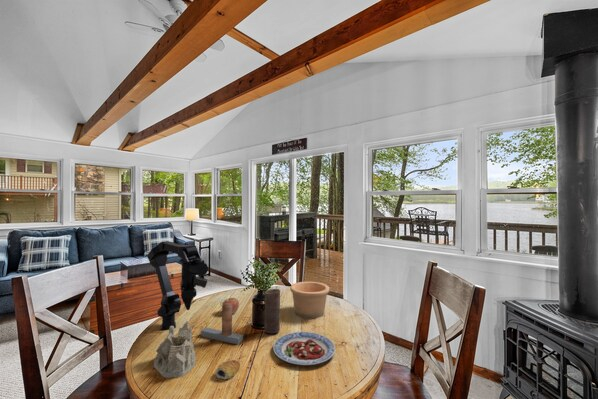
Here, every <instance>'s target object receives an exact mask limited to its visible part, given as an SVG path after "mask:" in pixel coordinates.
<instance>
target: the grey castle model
mask: <svg viewBox="0 0 598 399" xmlns="http://www.w3.org/2000/svg"><path fill="white" fill-rule="evenodd" d="M189 326H190V325H189V320H186V321H185V323H184V324H183V325H182V327H179V328H178V334H177V337H176V335H175V328H174V326H170V328H169V329H168V334H167V336H166V338H165V339H164V340H163V341H162V342H161V343H160V344H159V346H158V347H157V349H156V350H155V352H156V353H157V354H156V355H155V358H154V361H153V362H154V363H153V367H154V368H155V369H156V370H157V371H158V372H159V374H160V375H161V376H162V377H163V378H166V379H172V378H182V377H184V376H186V375H187V374H188V373H190V371H191V370H192V369H193V368H194V367H195V366H196V361H197V359H196V358H197V357H196V352H195V348H194V347H195V345H194V343H193V341H194V340H193V332H192V330H193V329H192V327H189Z"/></svg>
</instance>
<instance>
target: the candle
mask: <svg viewBox="0 0 598 399" xmlns="http://www.w3.org/2000/svg"><path fill="white" fill-rule="evenodd" d="M280 314H281V290H280V289H279V288H269V289H266V291H265V292H264V326H263V327H264V328H263V329H264V332H265V333H267V334H276V333H279V332H280V329H281V315H280Z"/></svg>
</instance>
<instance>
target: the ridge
mask: <svg viewBox="0 0 598 399" xmlns="http://www.w3.org/2000/svg"><path fill="white" fill-rule="evenodd" d="M200 337H203V338H208V339H212V340H216V341H220V342H225V343H230V344H233V345H240V344H241V343H242V342H243V340H244V335H243V334H240V333H234V332H232V334H231V335H230V336H222V329H215V328H213V327H212V328H211V327H204V328H203V329H201V330H200Z"/></svg>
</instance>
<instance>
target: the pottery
mask: <svg viewBox="0 0 598 399" xmlns="http://www.w3.org/2000/svg"><path fill="white" fill-rule="evenodd" d="M289 287H290V289H289V290H290V291H291V293H292V299H293V300H292V301H293V306H294V307H293V310H294V313H295V315H296V316H298V317H300V318H302V319H307V320H308V319H310V320H311V319H319V318H321V317H323V316H324V315H325V310H326V302H327V296H328V293H330V286H329V285H327V284H326V283H322V282H318V281H299V282H295V283H293V284H291V286H289Z"/></svg>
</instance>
